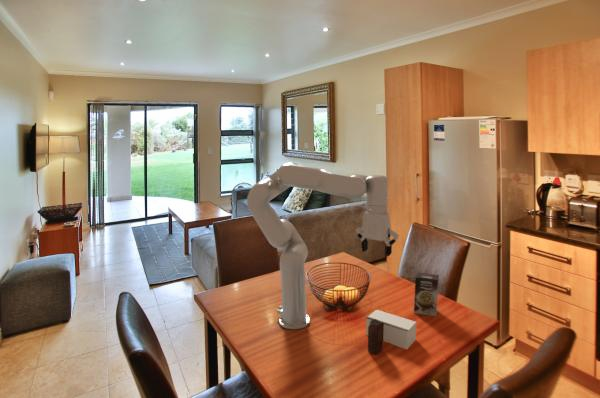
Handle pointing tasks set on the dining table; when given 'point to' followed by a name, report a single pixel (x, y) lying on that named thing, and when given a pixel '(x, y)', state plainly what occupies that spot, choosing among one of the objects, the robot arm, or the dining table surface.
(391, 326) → the step
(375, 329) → the brick
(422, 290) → the coffee box
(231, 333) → the dining table surface
